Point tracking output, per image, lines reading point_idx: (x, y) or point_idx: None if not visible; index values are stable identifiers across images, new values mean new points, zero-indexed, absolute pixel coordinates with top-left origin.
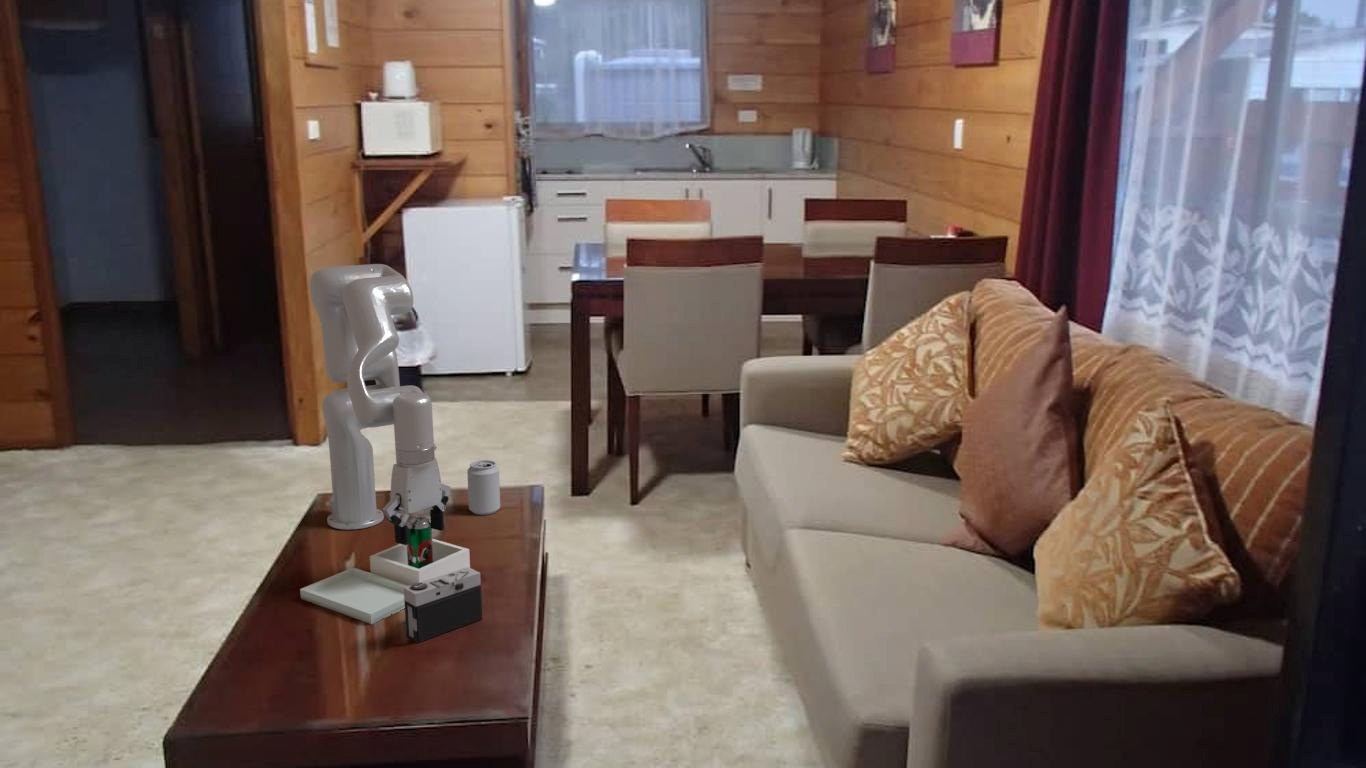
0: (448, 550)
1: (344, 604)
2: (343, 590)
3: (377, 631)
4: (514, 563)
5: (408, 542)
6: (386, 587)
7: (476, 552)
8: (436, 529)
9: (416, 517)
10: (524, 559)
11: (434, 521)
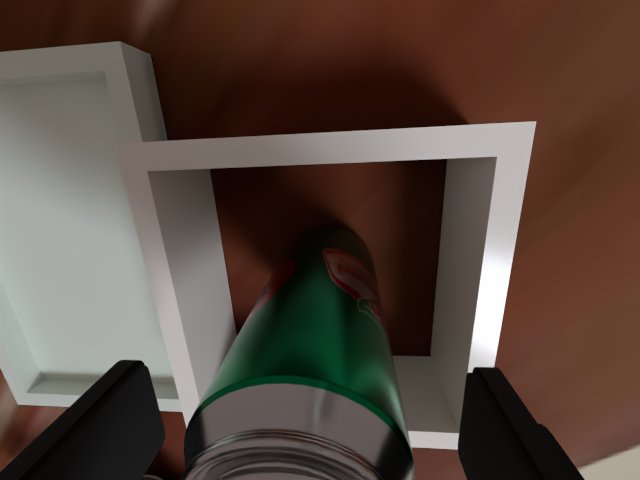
0: (459, 344)
1: None
2: (40, 173)
3: (45, 412)
4: (578, 431)
5: (160, 446)
6: None
7: (626, 276)
8: (461, 415)
9: (342, 468)
10: (626, 437)
11: (491, 464)
